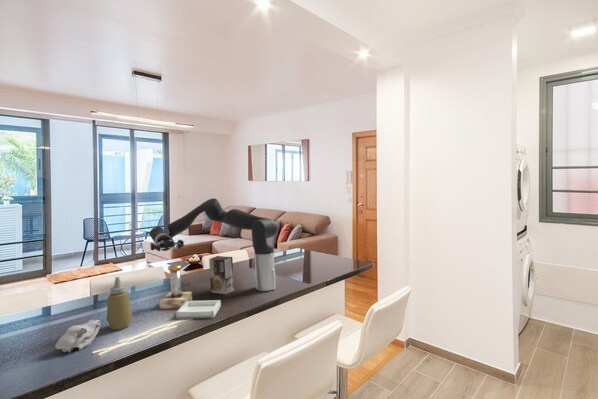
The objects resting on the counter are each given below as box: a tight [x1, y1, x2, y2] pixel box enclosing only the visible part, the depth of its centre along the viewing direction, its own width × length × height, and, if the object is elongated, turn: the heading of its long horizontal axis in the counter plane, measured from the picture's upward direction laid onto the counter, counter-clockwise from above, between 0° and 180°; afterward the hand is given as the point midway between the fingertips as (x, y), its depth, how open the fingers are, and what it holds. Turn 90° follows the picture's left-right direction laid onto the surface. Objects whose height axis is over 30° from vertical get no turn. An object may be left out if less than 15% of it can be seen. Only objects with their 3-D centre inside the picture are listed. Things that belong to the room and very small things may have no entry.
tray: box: [175, 299, 222, 320], centre depth 130 cm, size 14×12×2 cm
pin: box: [167, 264, 182, 298], centre depth 140 cm, size 5×5×16 cm
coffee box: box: [208, 255, 235, 295], centre depth 155 cm, size 9×6×16 cm
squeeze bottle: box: [106, 276, 133, 331], centre depth 118 cm, size 8×8×18 cm
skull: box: [54, 319, 102, 353], centre depth 105 cm, size 8×9×12 cm
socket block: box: [158, 291, 193, 309], centre depth 140 cm, size 10×10×4 cm
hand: (169, 247), depth 148 cm, fingers open, 8 cm apart
